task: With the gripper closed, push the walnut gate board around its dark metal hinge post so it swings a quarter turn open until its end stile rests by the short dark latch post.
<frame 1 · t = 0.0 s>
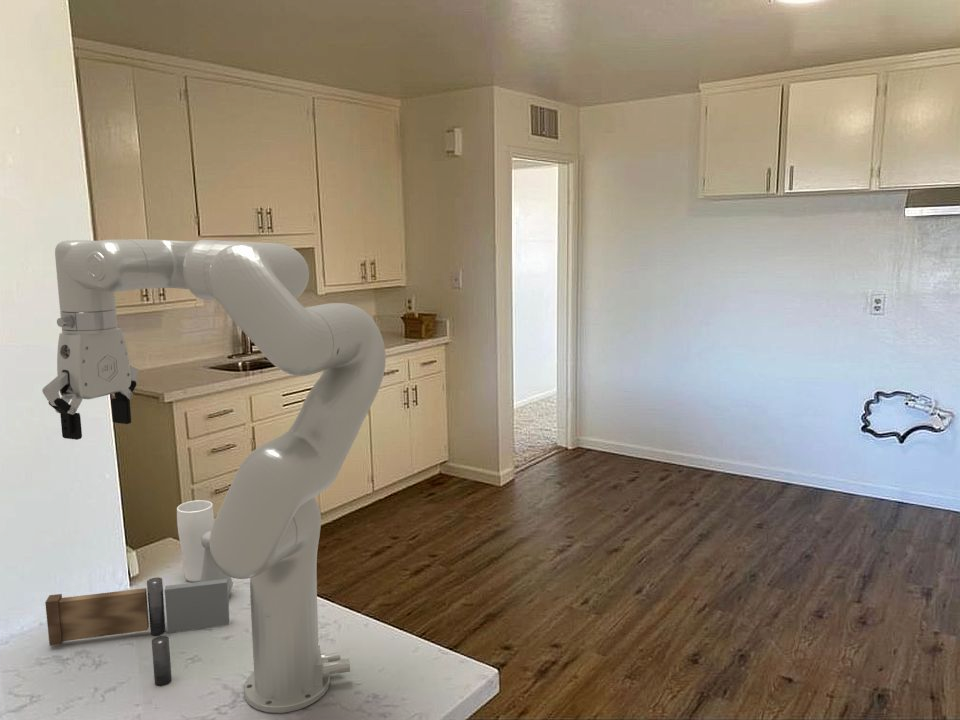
hand: (98, 430, 114), 37 cm above the countertop, tool pointing down, fingers open, 9 cm apart
salt shaker: (217, 599, 137), on the countertop
drinking glass: (199, 577, 145), on the countertop
grey rectangular slab: (199, 626, 127), on the countertop
latch post: (163, 681, 111), on the countertop
hinge post: (158, 632, 125), on the countertop
gate: (99, 614, 122), point 5 cm above the countertop, hinge at 0.0°
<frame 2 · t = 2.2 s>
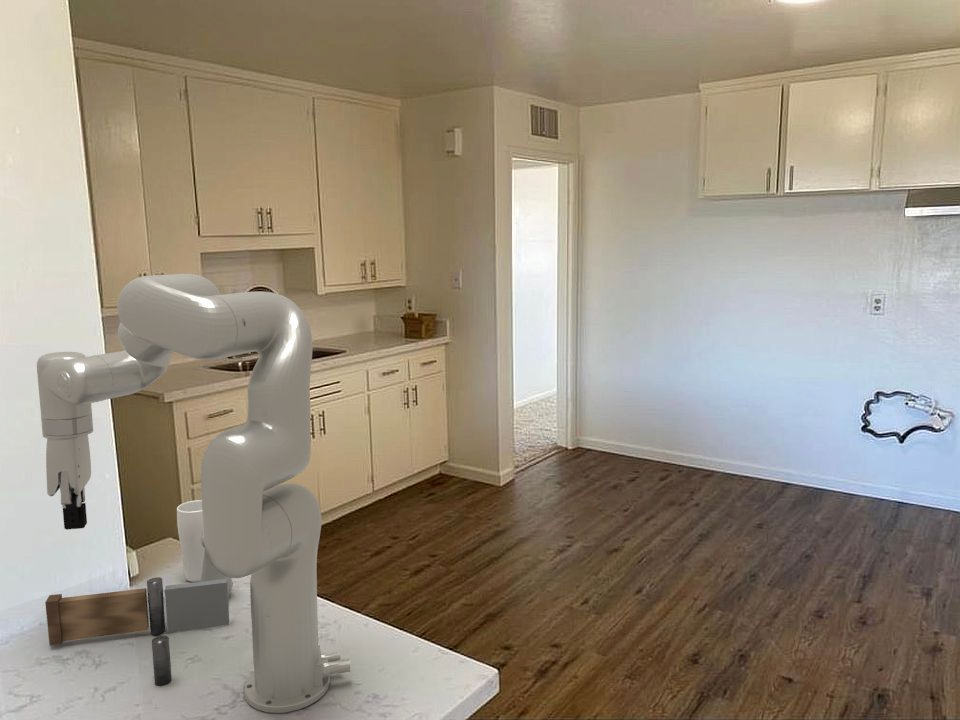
hand: (75, 526, 126), 17 cm above the countertop, tool pointing down, fingers closed
nothing on the countertop moved.
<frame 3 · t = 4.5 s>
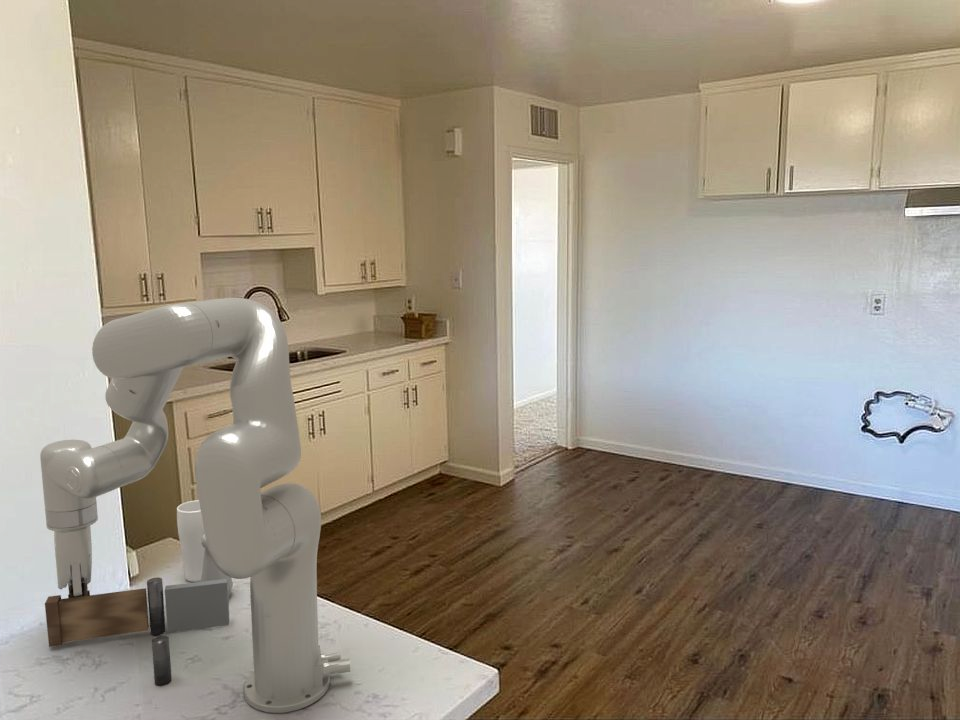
hand: (80, 615, 124), 3 cm above the countertop, tool pointing down, fingers closed
gate: (98, 615, 121), point 5 cm above the countertop, hinge at 1.6°, touching gripper
everything else where it was.
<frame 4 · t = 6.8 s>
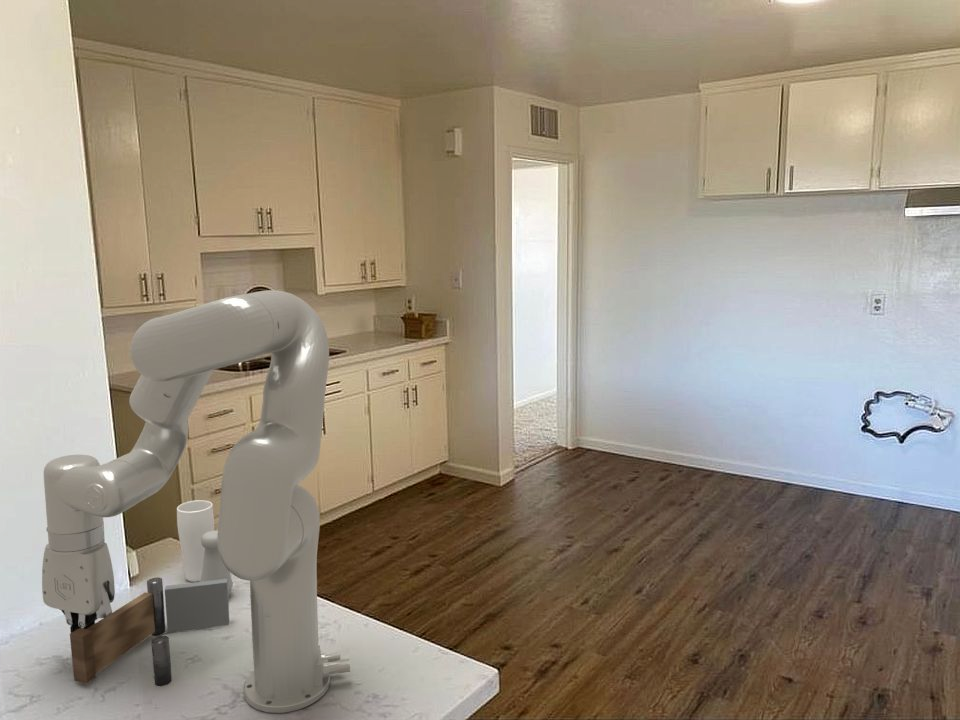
hand: (84, 645, 114), 4 cm above the countertop, tool pointing down, fingers closed
gate: (116, 633, 116), point 5 cm above the countertop, hinge at 56.3°, touching gripper
everything else where it was.
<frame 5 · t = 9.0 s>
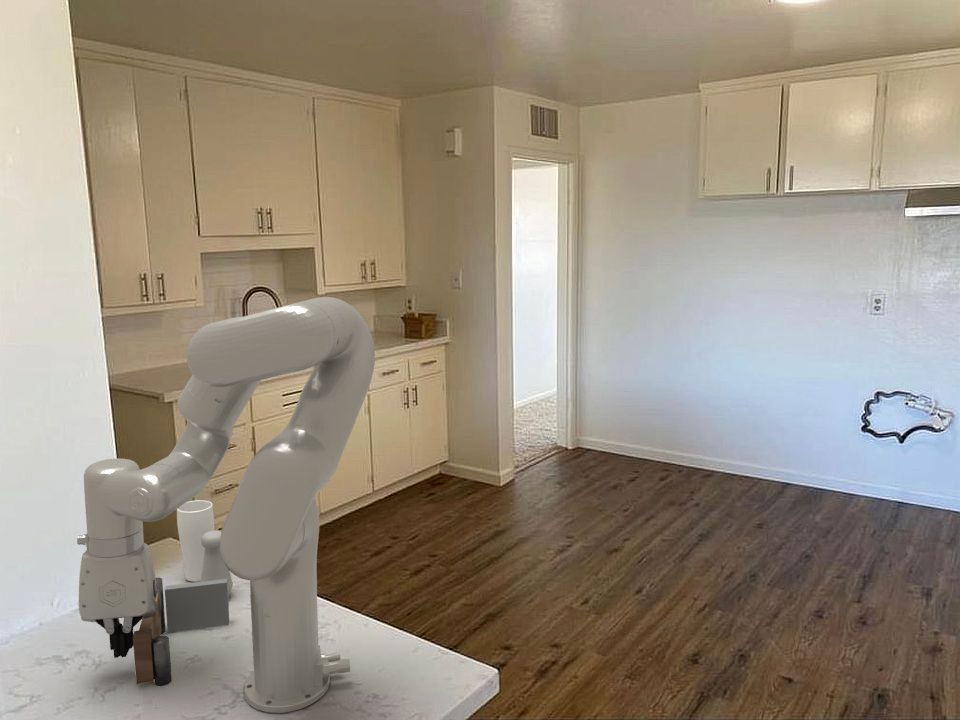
hand: (122, 652, 112), 4 cm above the countertop, tool pointing down, fingers closed
gate: (149, 634, 116), point 5 cm above the countertop, hinge at 91.1°, touching gripper, latch post
everything else where it was.
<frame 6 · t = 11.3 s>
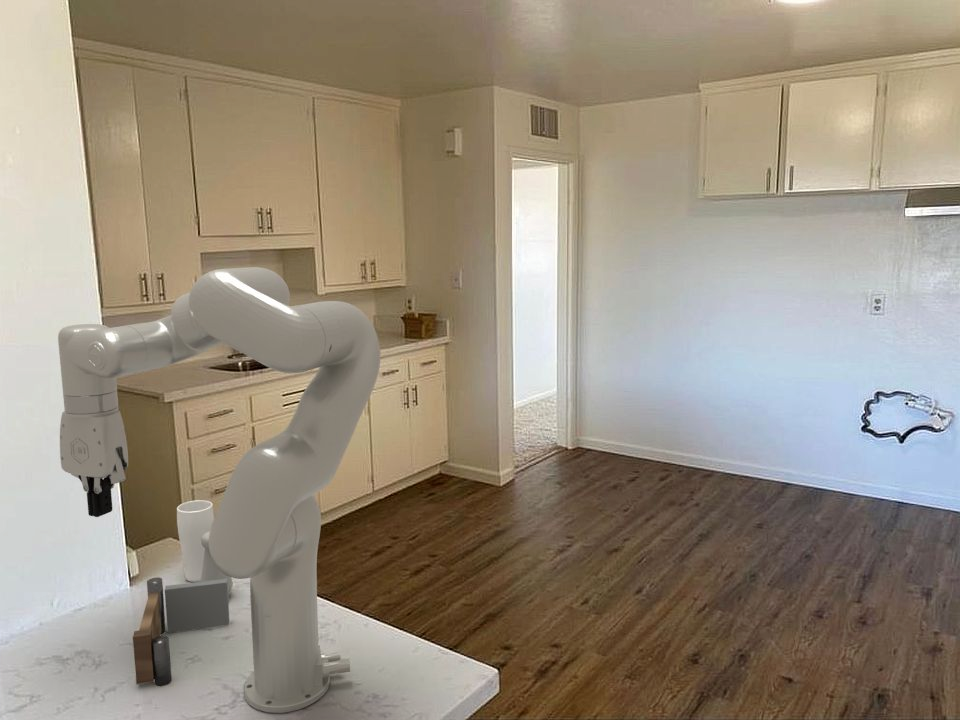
hand: (100, 513, 117), 23 cm above the countertop, tool pointing down, fingers closed
gate: (149, 634, 116), point 5 cm above the countertop, hinge at 91.1°, touching latch post
everything else where it was.
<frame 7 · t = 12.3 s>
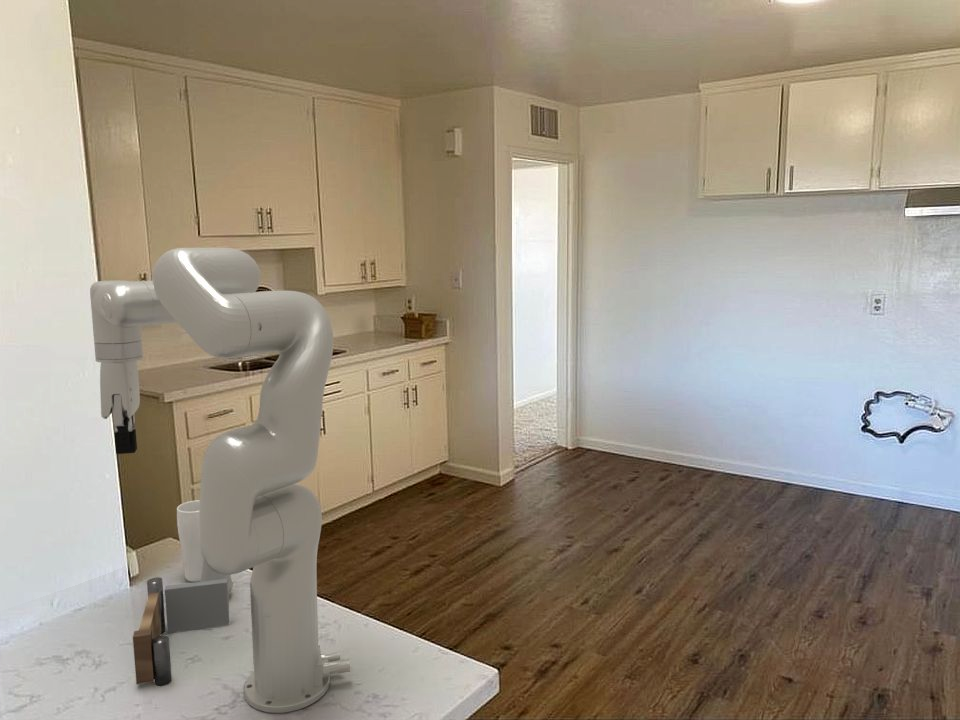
hand: (126, 452, 130), 29 cm above the countertop, tool pointing down, fingers closed
nothing on the countertop moved.
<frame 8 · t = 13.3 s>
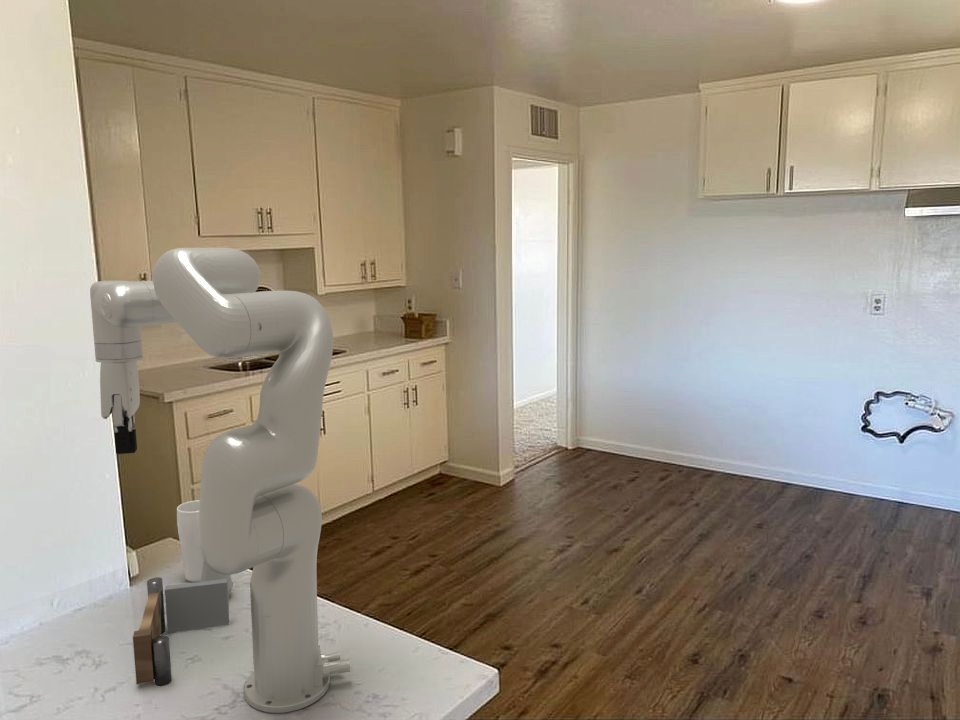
hand: (126, 452, 130), 29 cm above the countertop, tool pointing down, fingers closed
nothing on the countertop moved.
at the end: gate at +91° (first picture: +0°); drinking glass moved 0.2 cm from its start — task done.
